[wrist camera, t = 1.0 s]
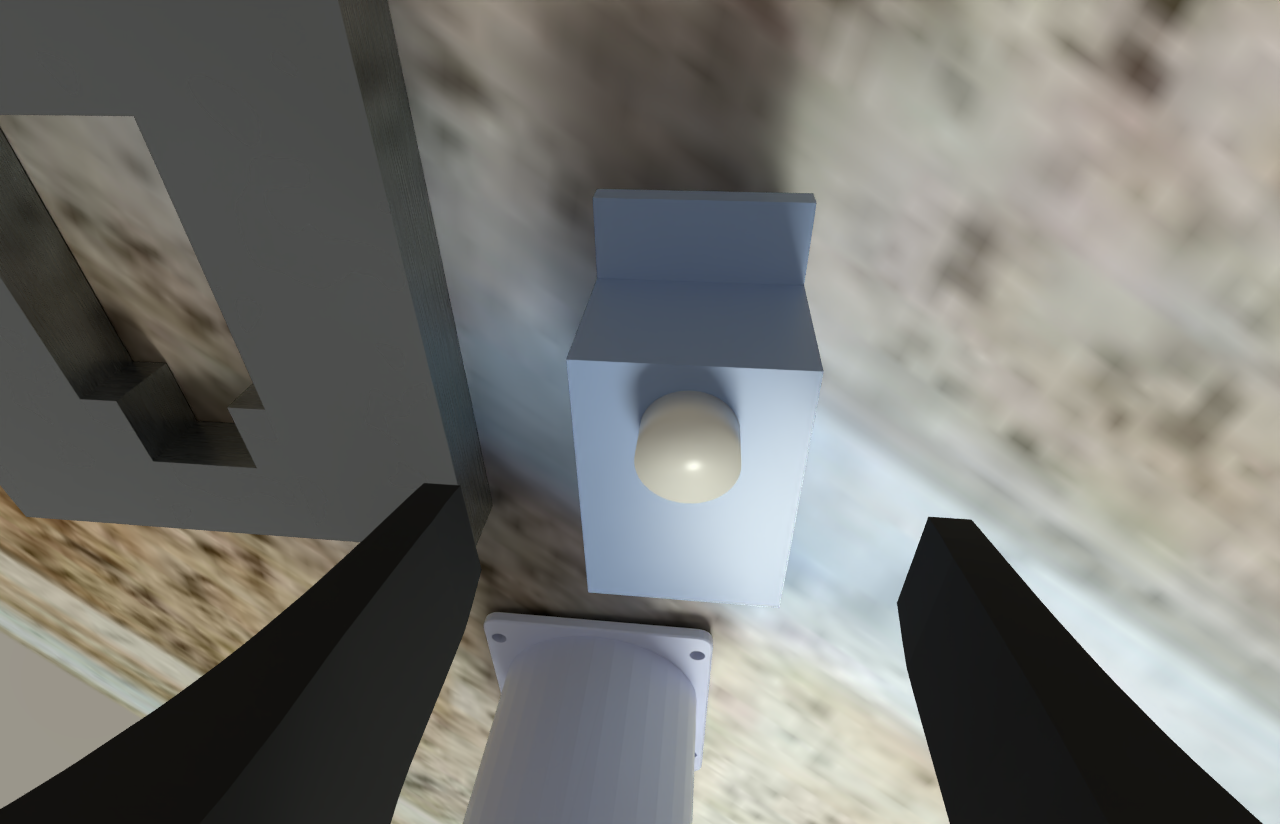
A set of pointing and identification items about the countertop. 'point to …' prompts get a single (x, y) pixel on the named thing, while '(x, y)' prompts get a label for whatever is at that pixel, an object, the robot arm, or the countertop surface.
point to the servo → (694, 393)
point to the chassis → (236, 275)
